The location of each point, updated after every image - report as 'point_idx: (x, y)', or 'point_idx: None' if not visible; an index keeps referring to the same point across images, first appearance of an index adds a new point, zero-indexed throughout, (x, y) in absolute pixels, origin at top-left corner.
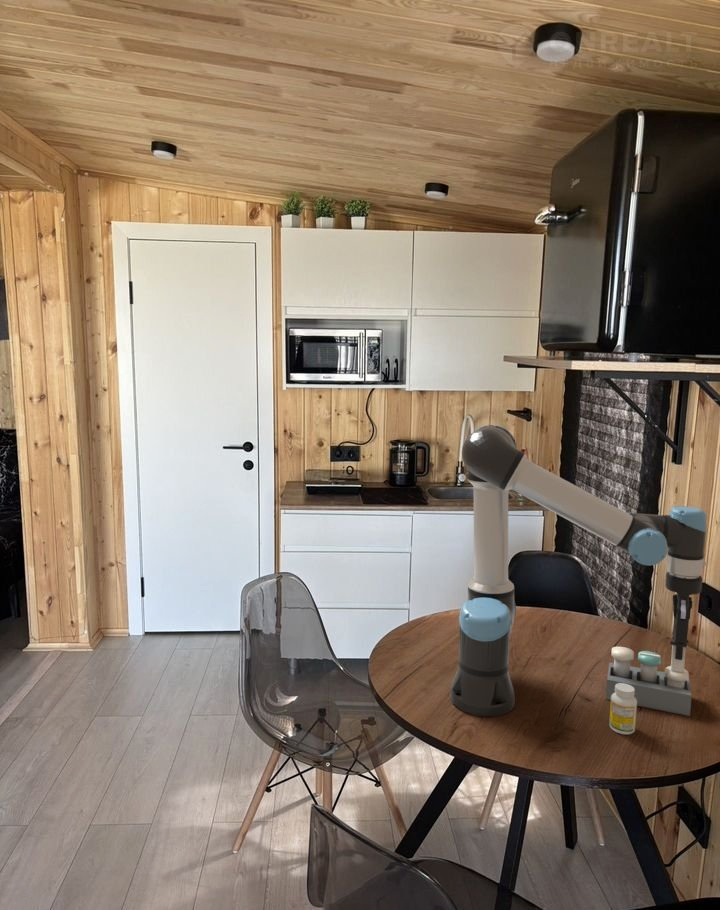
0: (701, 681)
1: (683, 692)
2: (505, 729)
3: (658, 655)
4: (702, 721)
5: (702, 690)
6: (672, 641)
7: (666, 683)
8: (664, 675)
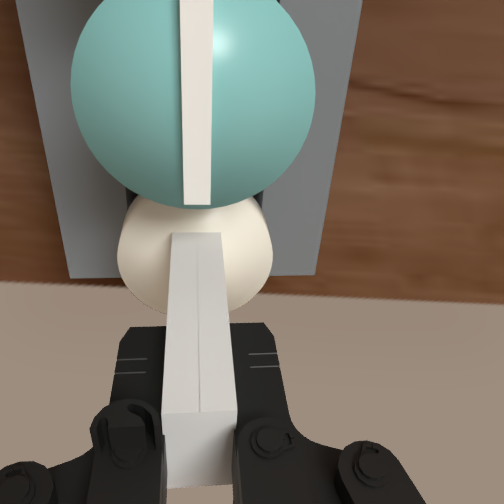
0: (453, 269)
1: (85, 245)
2: None
3: (209, 192)
4: None
5: (368, 269)
6: (157, 440)
7: None
8: None
